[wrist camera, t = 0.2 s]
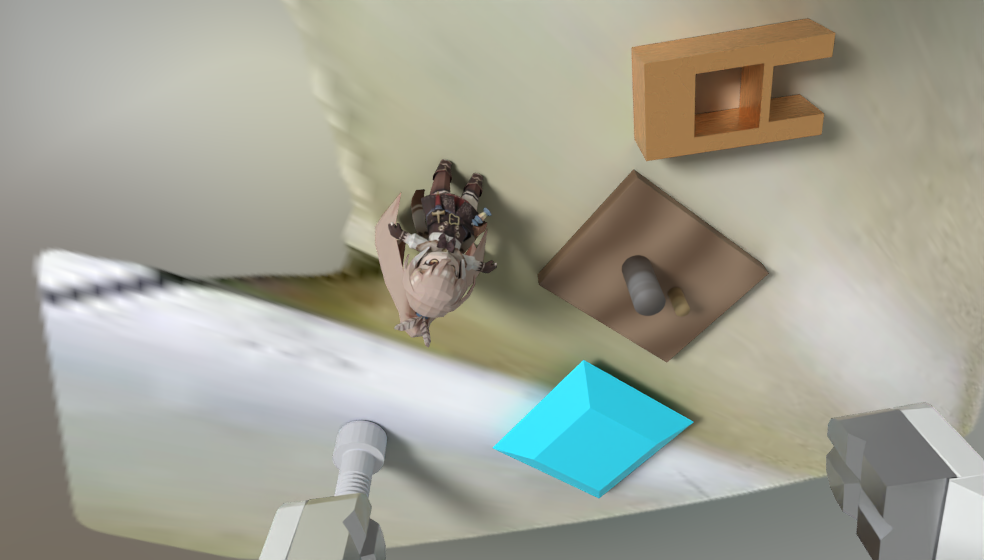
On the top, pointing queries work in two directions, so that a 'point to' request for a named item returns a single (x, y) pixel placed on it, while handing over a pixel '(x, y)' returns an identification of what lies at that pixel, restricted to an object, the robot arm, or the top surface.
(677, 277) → the flange base
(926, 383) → the top surface
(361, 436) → the bolt
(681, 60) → the wooden notched block
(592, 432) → the prism
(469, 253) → the toy
